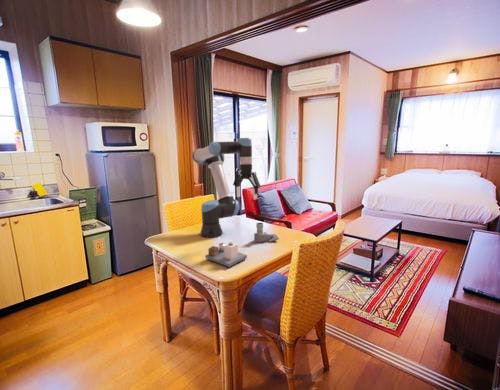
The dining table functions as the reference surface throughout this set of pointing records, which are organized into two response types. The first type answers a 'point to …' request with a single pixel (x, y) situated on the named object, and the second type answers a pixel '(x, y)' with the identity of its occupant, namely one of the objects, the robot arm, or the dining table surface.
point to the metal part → (221, 247)
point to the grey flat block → (227, 262)
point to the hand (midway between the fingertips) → (246, 198)
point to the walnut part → (213, 251)
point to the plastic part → (231, 251)
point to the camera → (263, 235)
